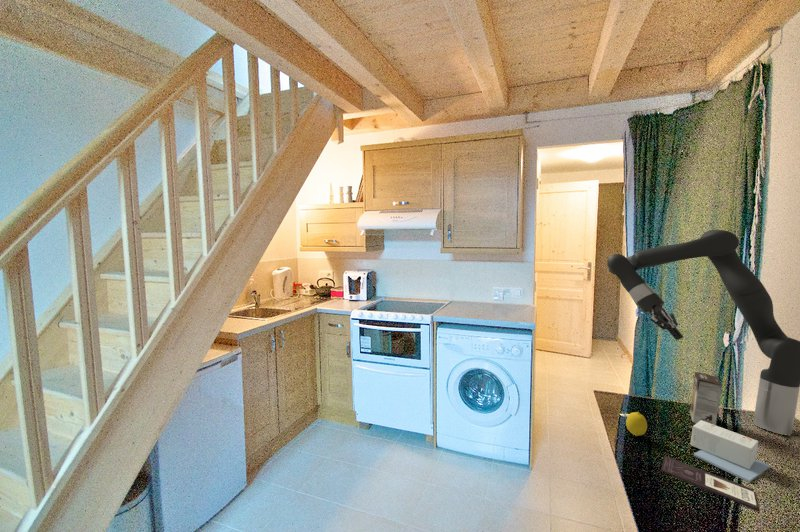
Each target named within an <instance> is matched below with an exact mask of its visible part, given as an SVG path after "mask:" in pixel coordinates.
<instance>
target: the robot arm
mask: <svg viewBox="0 0 800 532" xmlns="http://www.w3.org/2000/svg"><path fill="white" fill-rule="evenodd" d="M739 245H740V241H739V237H738V236H737V235H736V234H735V233H733V232H731V231H729V230H725V229H711V230H707V231H706V232H703V233H702V235H701V236H700V237H699V238H697V239H693V240H690V241H686V242H681V243H675V244H668V245H661V246H656V247H655V246H654V247H650V248H646V249H643V250H638V251H636V252H634V253H633V254H632V255H630V256H627V257H626V256H625V255H623V254H621V253H620V254H619V253H614V254H612V255H610V256H609V257H608V258H607V261H606V264H607V269H608V271H609V272H610V273H611V274H612V275H614V276H616V277H617V278H618V280H619V281H620V283H621V285H622V287H623V288H624V289H625V291H627V293H628V294H629V296H630V297H631V299H632V300H633V301H634V302H635V303H636V305H637V306H638V307H639V309H640V310H641V311H642V312H643V313H644V314H649V315H650V316H651V317H650V318H649V320H650V321H651V322H652V323H654V324H655V325H656V326H658V327H659V328H660V329H662V330H663V331H667V332H668V333H670V335H671V336H672V337H673V339H675V340H676V341H678V340H681V339H683V338H684V334H682V333H681V331H680V330H679V329H678V327H677V326H679V324H678V322H677V319H676V316H675V315H674V313H669V312H668V310H666V309H665V308H664V307H663V306H664V305H665V302H664V300H663V299H662V298H661V296H660V295H659V294H658V293H657V292H656V291H655V290H654V288H652V287H651V286H650V285H649V284H648V283H647V282H646V281H645V279H644V278H643V277H642V276H641V275H640V274H639V273H638V272H637V271H639V270H642V269H646V268H651V267H655V266H660V265H666V264H670V263H674V262H679V261H683V260H689V259H695V258H703V257H707V258H708V259H709V261H710V262H711V263H712V265H713V266H714V268H715V269H716V271H717V273H718V275H719V278H720V279H721V281H722V283H723V285H724V287H725V289H726V291H727V292H728V295H729V296H730V299H732V301H733V303H734V304H735V306H736V307H737V308H738V311H739V313H740V314H741V315H742V317H743V318H744V320H745V321H746V322H747V325H748V326H749V328H750V329H751V331H752V334H753V336H754V338H755V341H756V343H757V345H758V349H760V351H761V352H762V354H764V356H765V357H767V358H768V359H770V363H769V366H768V368H764V369H762V370H761V371H760V375H759V381H758V390H757V395H756V401H755V402H756V403H755V409H754V414H753V422H752V423H754V424H755V425H756V427H757V426H758V427H757V428H759V427H760V428H759V429H761V428H763V429H766V430H770V431H773V432H776V433H780V434H786V435H789V434H792V435H793V431H794V430H793V429H794V423H795V418H796V411H797V406H798V400H799V392H800V340H797V339H795V338H792V337H789V336H788V335H786V333H785V332H784V331H783V330H782V328H781V327H780V325H779V323H778V322H777V320H776V318H775V314H774V304H773V300H772V297H771V295H770V294H769V293H768V290H767V288H765V286H764V283H763V282H762V281H761V280H760V279H759V278H758V277H757V275H755V273H754V272H753V271H752V270H750V268H749V267H747V265H746V264H745V263H744V262H743V261H742V260H741V258H740V256H739V254H738V253H737V248H738V247H739ZM754 424H753V425H754ZM763 429H762V430H763Z"/></svg>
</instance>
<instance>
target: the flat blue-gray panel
mask: <svg viewBox="0 0 800 532" xmlns="http://www.w3.org/2000/svg"><path fill="white" fill-rule="evenodd" d="M693 456H694V457H695V458H698V459H700V460H702V461H704V462H706V463H709V464H711V465H712V466H715V467H716V468H718V469H721V470H723V471H725V472H727V473H729V474H731V475H732V476H735V477H737V478H739V479H741V480H743V481H745V482H748V483H751V482H752V481H753V480H755V479H757V478H758V477H760V476H761V475H762V474H763V473H765V472H766V471H768V470H769V469H770V468H771V465H770V464H767V463H765V462H762V461H760V460H759V459H756V461H755V462H754V463H753V465H752V466H751V468H750V469H746V468H744V467H742V466H739V465H737V464H734V463H732V462H730V461H727V460H725V459H722V458H720V457H718V456H715V455H713V454H710V453H708V452H706V451H703V450H701V449H699V450H698V451H695V452H694V453H693ZM768 468H769V469H768ZM767 469H768V470H767ZM765 470H766V471H765ZM764 471H765V472H764Z"/></svg>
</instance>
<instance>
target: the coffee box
mask: <svg viewBox="0 0 800 532" xmlns="http://www.w3.org/2000/svg"><path fill="white" fill-rule="evenodd" d="M722 389H723V383H722V382H721V381H720V379H719V377H718V376H715V375H710V374H706V373H702V372H698V371H695V372H694V377H693V387H692V393H691V401H690V408H689V414H690V418H691V421H692V423H694V424H697V423H698V422H699V421H700V420H702V421H705V422H708V423H710V424H713V425H716V426H717V422H718V414H719V409H720V402H721V395H722Z"/></svg>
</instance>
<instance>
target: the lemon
mask: <svg viewBox="0 0 800 532" xmlns="http://www.w3.org/2000/svg"><path fill="white" fill-rule="evenodd" d="M625 425H626V429H627V430H628V432H630V433H631V434H632V436H634V435H635V436H634V437H638V436H644V435H645V434H646V432H647V429H648V423H647V419H646V417H645V416H644V415H643V414H641V413H640V412H639V411H635V412H633V411H632V412H630V413H629V414H628V415H627V417H626V420H625Z"/></svg>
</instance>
